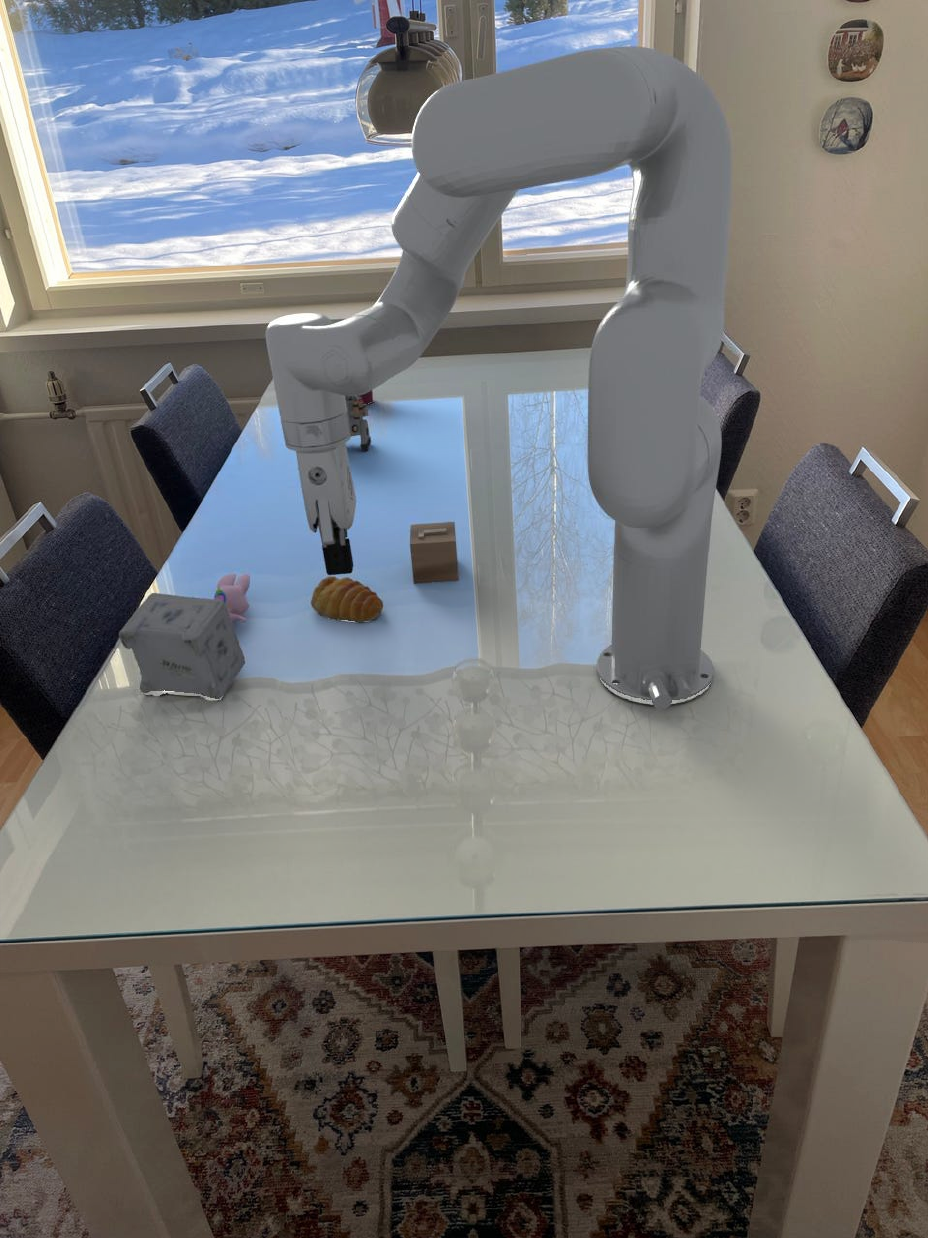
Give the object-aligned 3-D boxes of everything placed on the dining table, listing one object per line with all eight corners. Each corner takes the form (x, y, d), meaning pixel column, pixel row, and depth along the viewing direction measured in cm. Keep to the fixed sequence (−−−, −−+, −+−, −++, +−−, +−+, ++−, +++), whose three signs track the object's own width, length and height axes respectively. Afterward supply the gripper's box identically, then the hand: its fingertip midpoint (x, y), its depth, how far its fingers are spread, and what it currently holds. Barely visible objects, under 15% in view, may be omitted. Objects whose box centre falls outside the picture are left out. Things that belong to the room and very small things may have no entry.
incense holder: (136, 702, 105) (112, 623, 100) (176, 662, 112) (156, 586, 107) (213, 713, 102) (193, 632, 97) (249, 671, 109) (232, 593, 104)
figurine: (376, 433, 178) (367, 354, 170) (366, 455, 168) (356, 372, 160) (329, 434, 179) (318, 356, 171) (316, 456, 169) (304, 374, 161)
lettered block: (458, 581, 125) (455, 538, 122) (413, 584, 125) (409, 542, 122) (457, 560, 130) (454, 519, 127) (414, 563, 130) (410, 522, 127)
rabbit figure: (242, 659, 114) (265, 583, 126) (231, 621, 110) (256, 547, 122) (192, 660, 115) (220, 584, 126) (180, 623, 111) (209, 549, 122)
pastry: (396, 608, 120) (393, 582, 118) (364, 633, 116) (360, 606, 114) (339, 592, 125) (335, 566, 123) (306, 615, 120) (301, 589, 118)
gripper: (343, 447, 100) (367, 597, 109) (353, 405, 113) (373, 542, 122) (274, 454, 100) (303, 603, 109) (291, 411, 113) (316, 548, 122)
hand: (340, 571), depth 116 cm, fingers closed
